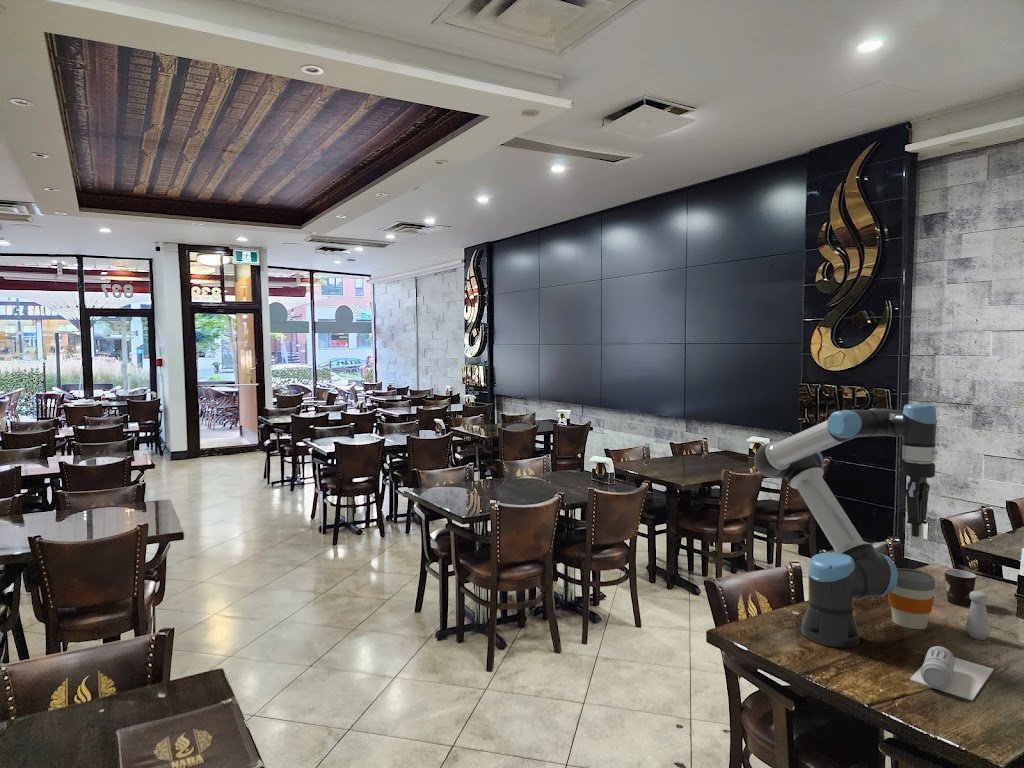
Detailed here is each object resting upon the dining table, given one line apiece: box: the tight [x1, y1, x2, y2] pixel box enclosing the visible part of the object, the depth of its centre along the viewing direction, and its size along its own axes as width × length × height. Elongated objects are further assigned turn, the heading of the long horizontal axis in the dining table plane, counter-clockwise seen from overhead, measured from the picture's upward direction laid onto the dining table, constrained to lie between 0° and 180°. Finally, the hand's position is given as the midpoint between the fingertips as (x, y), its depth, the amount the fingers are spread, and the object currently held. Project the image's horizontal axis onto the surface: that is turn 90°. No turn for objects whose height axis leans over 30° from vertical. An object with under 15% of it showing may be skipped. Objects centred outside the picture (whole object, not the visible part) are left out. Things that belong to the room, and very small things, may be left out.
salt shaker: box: [965, 590, 991, 641], centre depth 183 cm, size 6×6×13 cm
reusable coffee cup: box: [887, 567, 936, 630], centre depth 193 cm, size 13×13×15 cm
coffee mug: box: [944, 568, 977, 608], centre depth 208 cm, size 12×9×10 cm
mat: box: [909, 656, 994, 701], centre depth 161 cm, size 22×13×1 cm, turn 132°
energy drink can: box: [921, 645, 956, 690], centre depth 159 cm, size 6×6×15 cm
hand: (916, 547), depth 172 cm, fingers closed
